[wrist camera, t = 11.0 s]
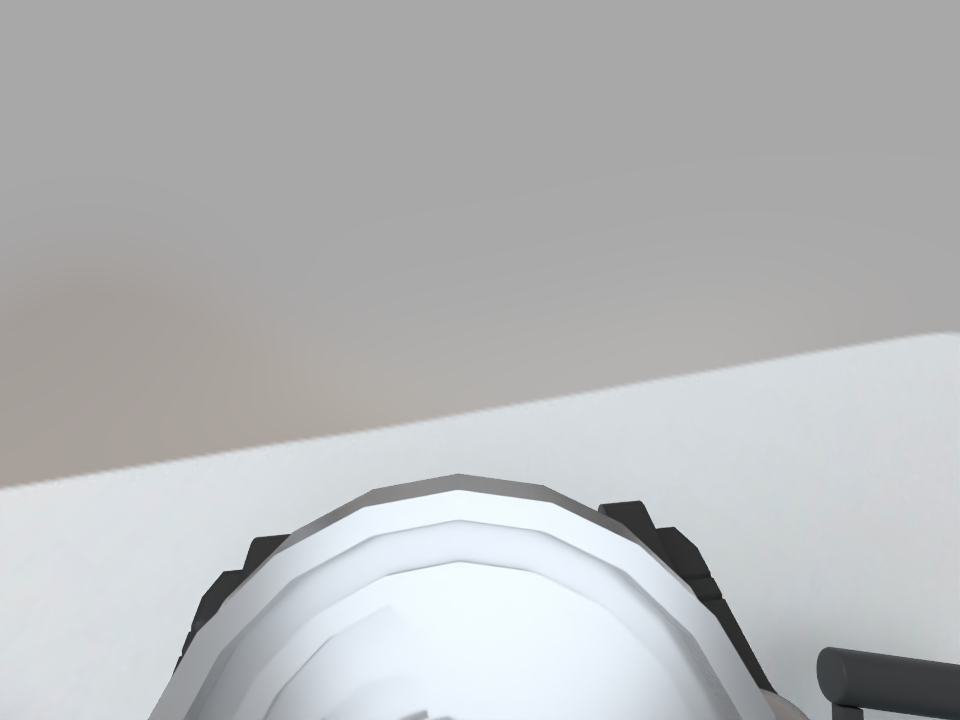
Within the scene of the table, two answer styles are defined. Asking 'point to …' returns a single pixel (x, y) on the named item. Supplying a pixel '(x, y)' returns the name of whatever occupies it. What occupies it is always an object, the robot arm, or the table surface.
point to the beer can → (462, 620)
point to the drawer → (887, 684)
